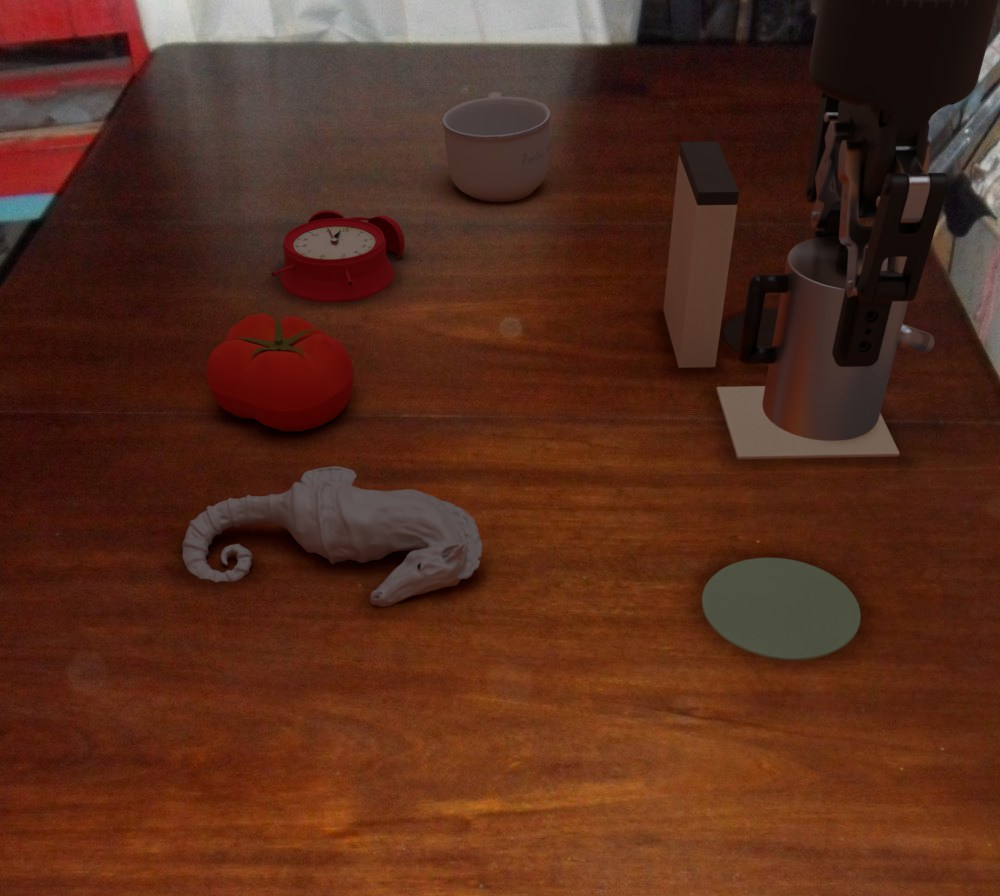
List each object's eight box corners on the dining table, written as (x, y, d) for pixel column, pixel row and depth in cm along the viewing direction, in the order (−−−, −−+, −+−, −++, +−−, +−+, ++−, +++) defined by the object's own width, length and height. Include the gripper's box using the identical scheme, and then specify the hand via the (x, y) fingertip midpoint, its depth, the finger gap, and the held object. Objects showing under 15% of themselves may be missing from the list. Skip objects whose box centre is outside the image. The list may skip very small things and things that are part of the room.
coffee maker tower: (696, 319, 104) (717, 141, 94) (713, 377, 97) (739, 191, 87) (662, 320, 104) (680, 141, 94) (677, 378, 97) (698, 191, 87)
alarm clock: (253, 267, 104) (308, 165, 111) (269, 325, 109) (320, 224, 117) (366, 280, 102) (414, 175, 109) (376, 338, 107) (422, 235, 115)
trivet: (838, 565, 80) (840, 555, 79) (875, 666, 73) (878, 656, 72) (690, 568, 80) (691, 558, 79) (713, 669, 73) (714, 659, 72)
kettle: (900, 379, 69) (941, 222, 62) (931, 439, 64) (979, 276, 58) (721, 382, 69) (743, 225, 62) (739, 443, 64) (765, 280, 58)
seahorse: (168, 619, 74) (483, 568, 73) (168, 469, 79) (464, 419, 78) (196, 656, 79) (493, 609, 78) (195, 513, 84) (474, 466, 83)
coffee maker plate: (826, 317, 105) (828, 307, 104) (853, 375, 98) (855, 364, 97) (713, 319, 104) (714, 308, 104) (732, 377, 97) (733, 366, 97)
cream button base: (863, 397, 95) (871, 363, 93) (896, 467, 88) (906, 432, 86) (714, 400, 95) (719, 365, 93) (735, 470, 88) (741, 435, 86)
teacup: (541, 217, 120) (543, 134, 114) (435, 211, 121) (432, 128, 115) (558, 166, 129) (560, 86, 124) (460, 160, 131) (458, 81, 125)
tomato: (304, 459, 89) (293, 380, 84) (193, 419, 93) (176, 342, 88) (379, 401, 95) (373, 324, 90) (272, 366, 99) (260, 290, 94)
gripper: (1060, 16, 46) (947, 399, 58) (951, -73, 56) (874, 269, 68) (868, 18, 46) (794, 402, 58) (794, -72, 56) (743, 271, 68)
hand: (837, 329), depth 63 cm, fingers closed on kettle, 6 cm apart
